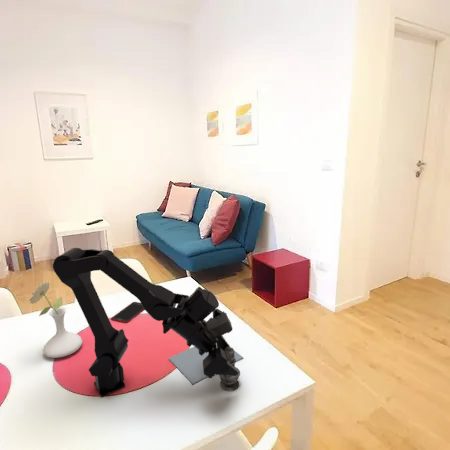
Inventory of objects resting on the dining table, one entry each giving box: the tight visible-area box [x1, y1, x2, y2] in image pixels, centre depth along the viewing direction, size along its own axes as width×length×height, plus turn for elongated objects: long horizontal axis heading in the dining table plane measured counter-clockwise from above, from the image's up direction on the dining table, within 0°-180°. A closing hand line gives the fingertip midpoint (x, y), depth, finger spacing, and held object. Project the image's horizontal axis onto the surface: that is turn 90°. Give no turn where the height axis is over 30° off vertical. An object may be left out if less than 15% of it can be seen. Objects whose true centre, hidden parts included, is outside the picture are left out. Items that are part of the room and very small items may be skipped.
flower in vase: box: [28, 279, 83, 359], centre depth 102 cm, size 13×11×25 cm
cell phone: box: [110, 301, 145, 324], centre depth 129 cm, size 8×15×1 cm, turn 159°
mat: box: [167, 346, 244, 385], centre depth 100 cm, size 18×14×1 cm
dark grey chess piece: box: [218, 345, 241, 392], centre depth 88 cm, size 6×6×12 cm
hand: (234, 362), depth 88 cm, fingers open, 9 cm apart
